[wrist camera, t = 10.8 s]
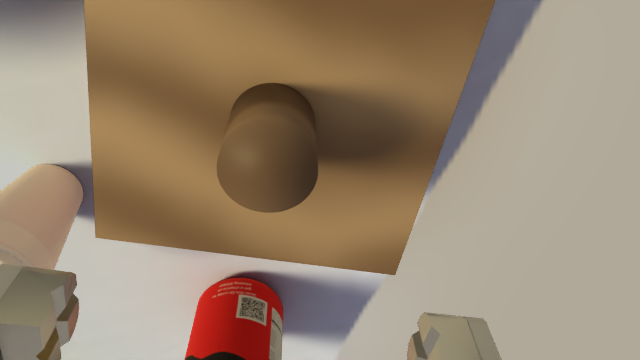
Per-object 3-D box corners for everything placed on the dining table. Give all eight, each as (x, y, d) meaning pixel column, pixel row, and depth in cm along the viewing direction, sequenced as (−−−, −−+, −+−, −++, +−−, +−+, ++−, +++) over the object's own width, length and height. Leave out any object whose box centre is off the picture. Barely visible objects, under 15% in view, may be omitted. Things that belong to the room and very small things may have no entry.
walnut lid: (91, -120, 17) (20, -116, 13) (494, -33, 19) (552, -4, 15) (103, 222, 25) (61, 298, 21) (391, 259, 27) (409, 336, 23)
